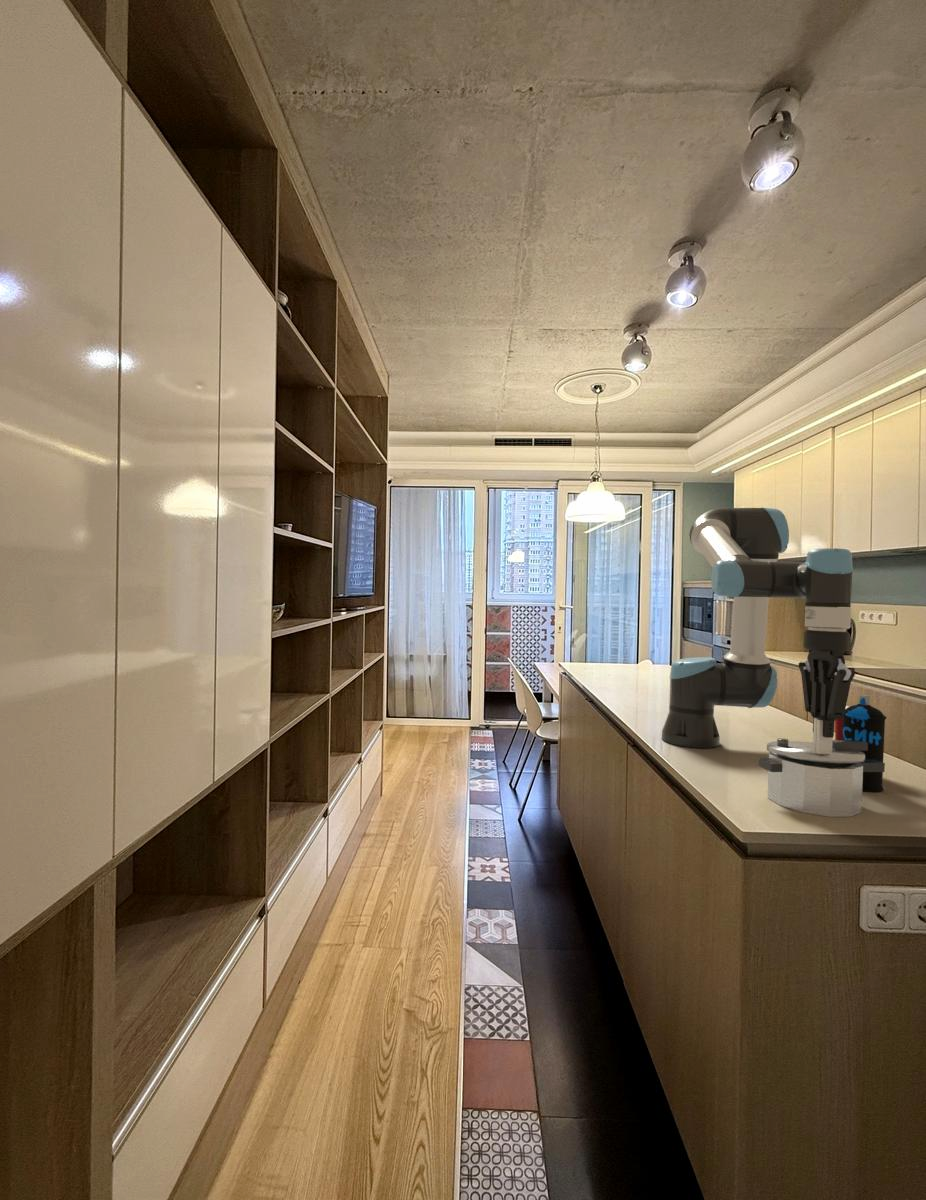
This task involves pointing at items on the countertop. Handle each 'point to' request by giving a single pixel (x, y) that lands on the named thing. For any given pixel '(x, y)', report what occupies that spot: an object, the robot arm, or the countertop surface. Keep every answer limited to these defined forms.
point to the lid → (804, 751)
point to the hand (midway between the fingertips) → (822, 752)
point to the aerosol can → (866, 737)
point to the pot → (817, 784)
